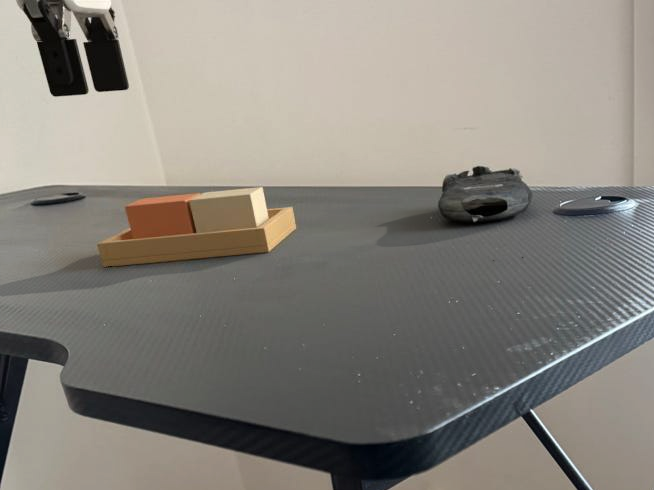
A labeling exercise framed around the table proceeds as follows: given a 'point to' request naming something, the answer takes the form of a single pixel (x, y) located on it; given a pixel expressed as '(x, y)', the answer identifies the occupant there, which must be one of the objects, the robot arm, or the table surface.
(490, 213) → the electronic device
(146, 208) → the pad
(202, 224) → the pad
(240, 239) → the tray
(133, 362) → the table surface
